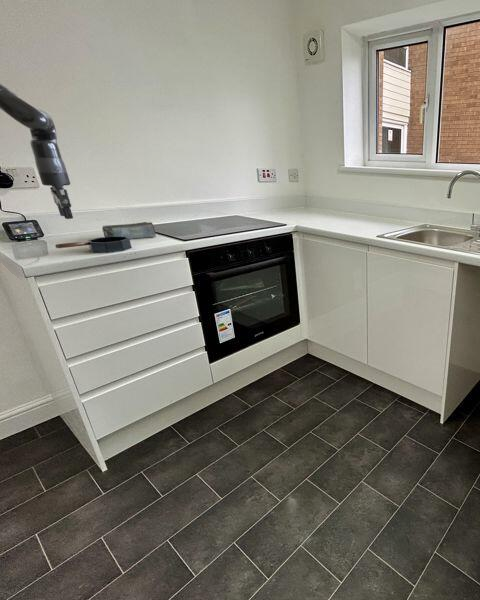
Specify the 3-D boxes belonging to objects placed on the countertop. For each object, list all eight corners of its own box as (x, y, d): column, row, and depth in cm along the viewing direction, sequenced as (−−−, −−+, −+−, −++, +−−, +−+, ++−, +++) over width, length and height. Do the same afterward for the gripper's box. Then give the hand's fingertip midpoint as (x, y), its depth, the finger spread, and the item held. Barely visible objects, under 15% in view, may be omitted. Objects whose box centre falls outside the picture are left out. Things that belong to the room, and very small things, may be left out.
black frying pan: (61, 258, 128) (57, 247, 126) (55, 252, 135) (51, 241, 134) (134, 249, 144) (131, 239, 142) (125, 244, 151) (122, 234, 150)
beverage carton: (105, 238, 161) (101, 223, 159) (155, 234, 172) (152, 221, 170) (105, 241, 155) (101, 226, 153) (157, 237, 166) (153, 223, 164)
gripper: (35, 170, 126) (50, 216, 132) (41, 171, 118) (56, 220, 124) (62, 170, 131) (76, 214, 137) (70, 172, 123) (84, 218, 129)
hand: (67, 217), depth 130 cm, fingers open, 8 cm apart
